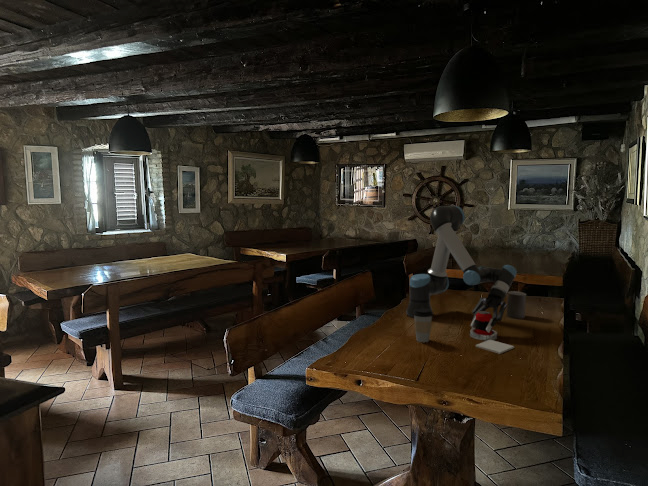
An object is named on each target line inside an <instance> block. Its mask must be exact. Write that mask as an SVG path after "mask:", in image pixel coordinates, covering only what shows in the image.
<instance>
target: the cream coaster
mask: <svg viewBox="0 0 648 486" xmlns="http://www.w3.org/2000/svg"><path fill="white" fill-rule="evenodd" d="M475 347H476V348H477V349H482V350H485V351H488V352H492V353H495V354H498V355H499V354H500V355H501V354H503V353H507V351H511V350H513V349H515V346H514V345H511V344H507V343H503V342H500V341H496V340H484V341H482V342H480V343H477V344H475Z"/></svg>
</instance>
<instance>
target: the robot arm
mask: <svg viewBox="0 0 648 486" xmlns="http://www.w3.org/2000/svg"><path fill="white" fill-rule="evenodd" d="M465 218H466V214H465V212H464V210H463V209H462V207H460V206H457V205H440V206H439V205H438V206H437V207H434V208H433V209H432V211H431V212H430V217H429V221H430V225H431V226H432V229H433V230H434V233H435V234H437V236H438V237H437V240H436V243H435V244H436V245H435V249H434V253H433V257H432V261H431V266H430V268H429V269H427V272H426V273H418V274H417V273H416V274H414V275H412V276H410V278H409V300H408V301H409V302H408V305H407V308H406V311H405V312H406V314H407V315H408V316H407V315H406V316H407V317H410V318H414V315H413V312H414V310H415V309H417V308H427V309H430V310H431V311H432V313H433V314H434V311H433V309H432V305H431V296H434V295H440V294H442V293H444V292H445V291H447V290H448V288H449V285H450V284H449V283H450V281H449V277H448V273H447V266H448V263H449V258H450V254H451V256H452V257H453V259H454V260H455V262H456V263H457V265H458V267H459V268H460V269H461V272H462V273H463V274H462V276H463V277H462V278H463V282H464V283H465V284H466V285H468V286H475V285H476V286H477V285H479V284H484V283H487V282H489V283H490V282H491V283H493V285H492V286H491V289H490V291H489V293H488V296H487V297H485V298H483V297H482V296H481V297H480V298H479V301H478V302H477V304H476V306H475V307H474V308H473V309H472V311H471V313H472V315H473V317H472V319H471V320H472V321H471V323H470V327H471V329H474V328H475V326H476V314H477V313H478V312H479V311H487V309H488V310H489V308H492V309H493V311H492V312H493V313H492V314H493V315H492V318H491V320H490V322H489V324H488V326H487V328H486V331H487V332H488V333H489V332H490V330H491V328H492V329H493V328H494V326H495V325H496V323H497V322H502V319H503V316H504V313H505V310H506V309H507V302H505V301H504V300H505V298H506V296H507V295H508V292H509V291H510V287H511V286H512V284H513V282H514V280H515V279H516V276H517V273H518V271H517V268H515V267H514V266H513V265H510V264H504V265H503V266H502V267H501V268H498V267H490V266H486V265H485V266H477V264H476V263H475V262H474V259H473V258H472V256H471V255H470V253H469V252H468V250H467V249H466V247H465V246H464V244H463V243H462V241H461V240H460V237H458V235H457V232H458V231H459V228H460V226H461V225H462V224H464V222H465V220H466V219H465ZM414 319H415V318H414Z"/></svg>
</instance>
